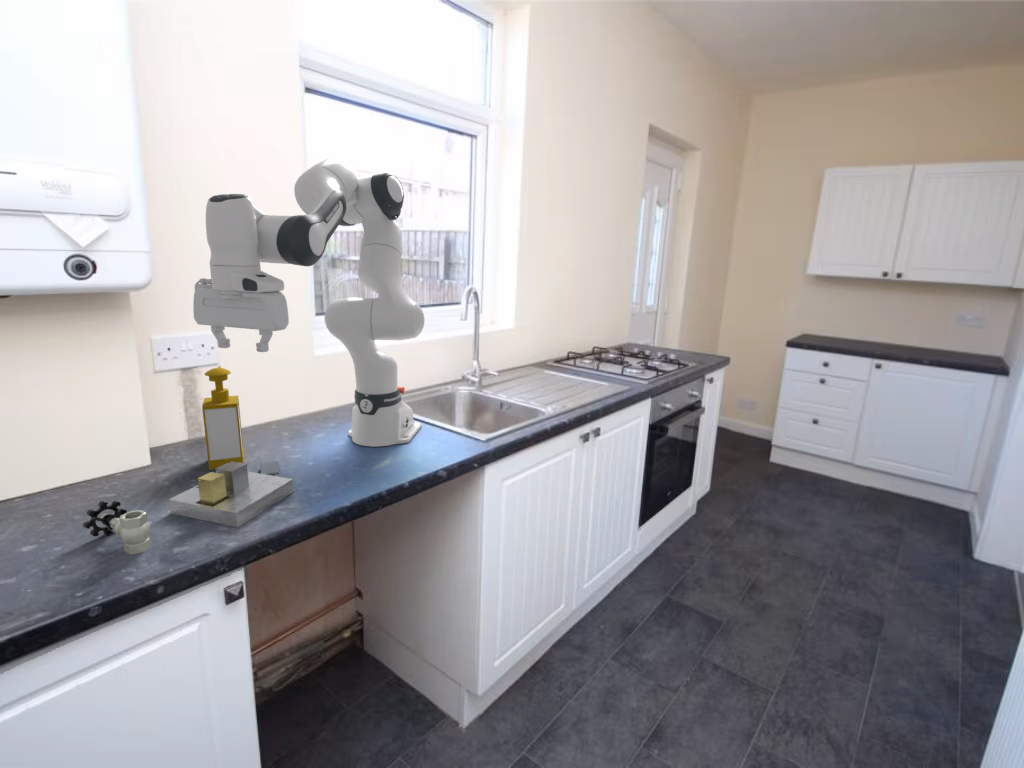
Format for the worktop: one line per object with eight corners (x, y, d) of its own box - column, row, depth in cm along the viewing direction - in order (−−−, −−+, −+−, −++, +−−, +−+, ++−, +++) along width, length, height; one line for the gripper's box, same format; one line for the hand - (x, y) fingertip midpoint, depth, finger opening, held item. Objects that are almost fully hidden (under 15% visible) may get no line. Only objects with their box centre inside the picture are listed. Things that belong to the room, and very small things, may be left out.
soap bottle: (244, 447, 138) (235, 359, 132) (243, 465, 127) (234, 370, 121) (212, 451, 135) (202, 361, 129) (209, 470, 124) (198, 372, 118)
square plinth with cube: (233, 480, 119) (229, 447, 117) (293, 491, 115) (291, 457, 113) (170, 513, 104) (165, 475, 102) (237, 527, 100) (233, 488, 98)
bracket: (279, 467, 128) (278, 460, 127) (280, 485, 118) (279, 477, 118) (261, 470, 126) (260, 462, 126) (260, 488, 117) (260, 480, 116)
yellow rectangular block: (202, 516, 103) (197, 478, 101) (215, 508, 106) (210, 471, 104) (215, 518, 103) (210, 480, 101) (228, 511, 106) (224, 474, 104)
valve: (164, 543, 94) (126, 526, 99) (160, 510, 92) (121, 493, 97) (124, 562, 88) (86, 542, 93) (118, 526, 86) (79, 508, 92)
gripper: (181, 278, 104) (189, 347, 107) (268, 283, 98) (274, 356, 102) (207, 277, 109) (214, 343, 113) (291, 282, 104) (295, 351, 108)
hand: (243, 349), depth 107 cm, fingers open, 8 cm apart
